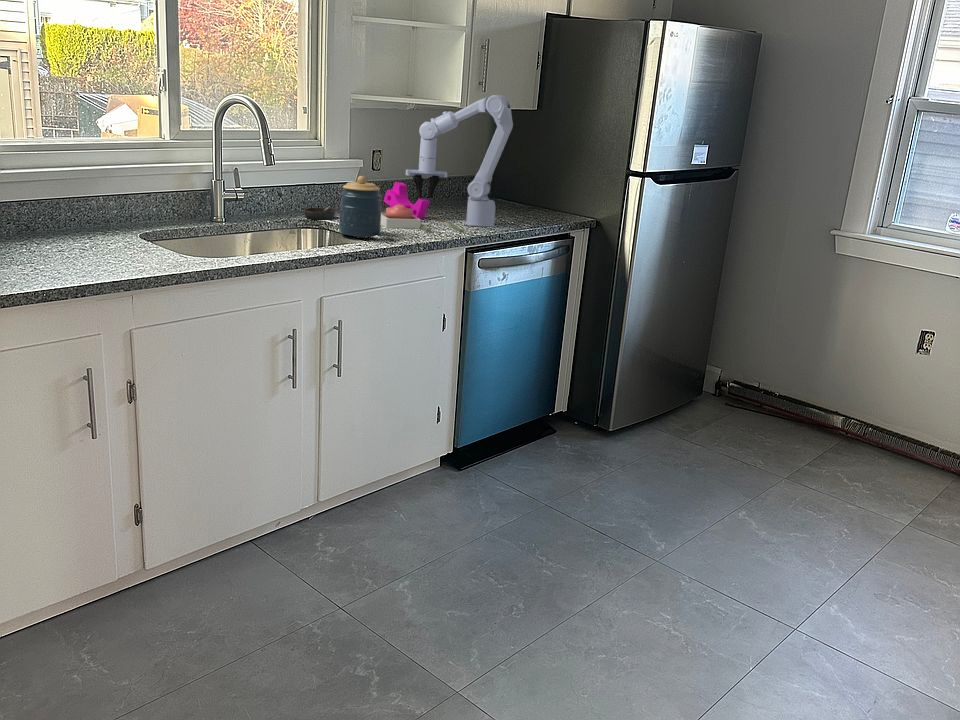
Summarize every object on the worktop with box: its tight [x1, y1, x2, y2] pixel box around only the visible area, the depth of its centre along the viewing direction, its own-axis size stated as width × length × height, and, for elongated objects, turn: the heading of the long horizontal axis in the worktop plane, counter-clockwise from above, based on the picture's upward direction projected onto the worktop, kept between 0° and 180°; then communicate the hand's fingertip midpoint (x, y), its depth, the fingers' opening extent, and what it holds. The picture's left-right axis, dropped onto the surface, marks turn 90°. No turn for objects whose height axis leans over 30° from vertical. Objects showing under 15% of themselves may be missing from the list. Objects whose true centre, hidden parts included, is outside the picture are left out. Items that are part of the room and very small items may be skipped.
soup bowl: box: [301, 206, 336, 226], centre depth 298 cm, size 15×16×7 cm
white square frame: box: [381, 213, 422, 230], centre depth 295 cm, size 12×12×3 cm
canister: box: [338, 175, 383, 237], centre depth 270 cm, size 13×13×18 cm
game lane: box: [420, 215, 465, 233], centre depth 304 cm, size 13×34×1 cm, turn 20°
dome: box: [385, 204, 413, 219], centre depth 294 cm, size 9×9×6 cm
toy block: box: [383, 181, 431, 220], centre depth 311 cm, size 15×6×8 cm, turn 49°
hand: (425, 197), depth 308 cm, fingers open, 3 cm apart
